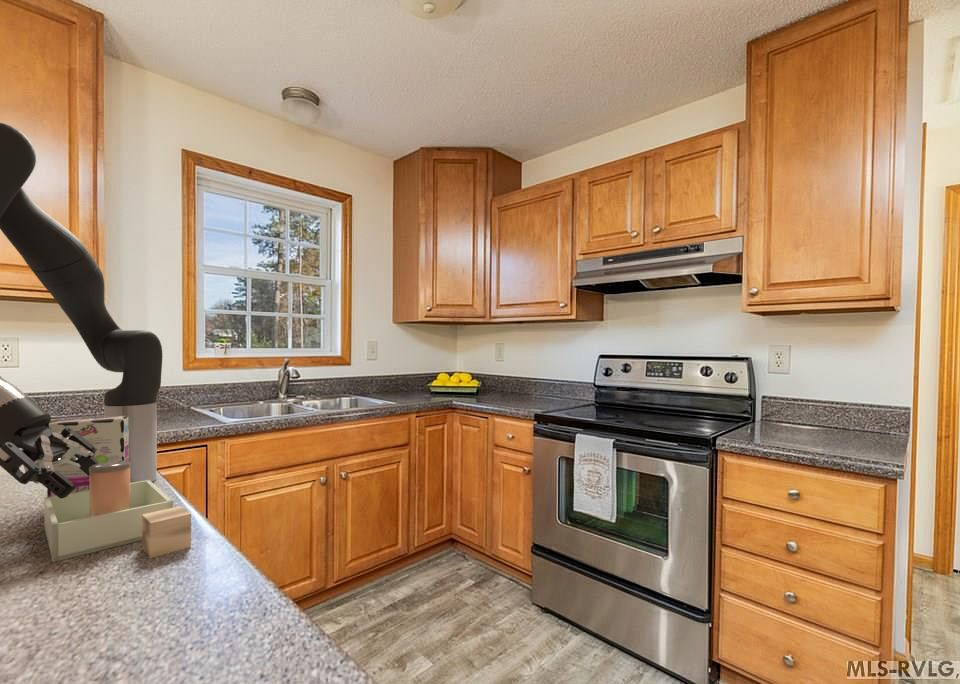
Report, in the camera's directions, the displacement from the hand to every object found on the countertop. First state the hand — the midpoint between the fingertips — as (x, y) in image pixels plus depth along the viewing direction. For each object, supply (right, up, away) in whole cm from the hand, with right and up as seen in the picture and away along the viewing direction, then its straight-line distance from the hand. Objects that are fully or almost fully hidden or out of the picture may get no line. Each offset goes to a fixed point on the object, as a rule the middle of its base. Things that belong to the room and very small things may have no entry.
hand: (87, 484), depth 73 cm
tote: (+1, -8, +3) cm, 9 cm away
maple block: (+15, -8, -3) cm, 17 cm away
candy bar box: (-11, -9, +14) cm, 20 cm away
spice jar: (+3, -8, 0) cm, 8 cm away
